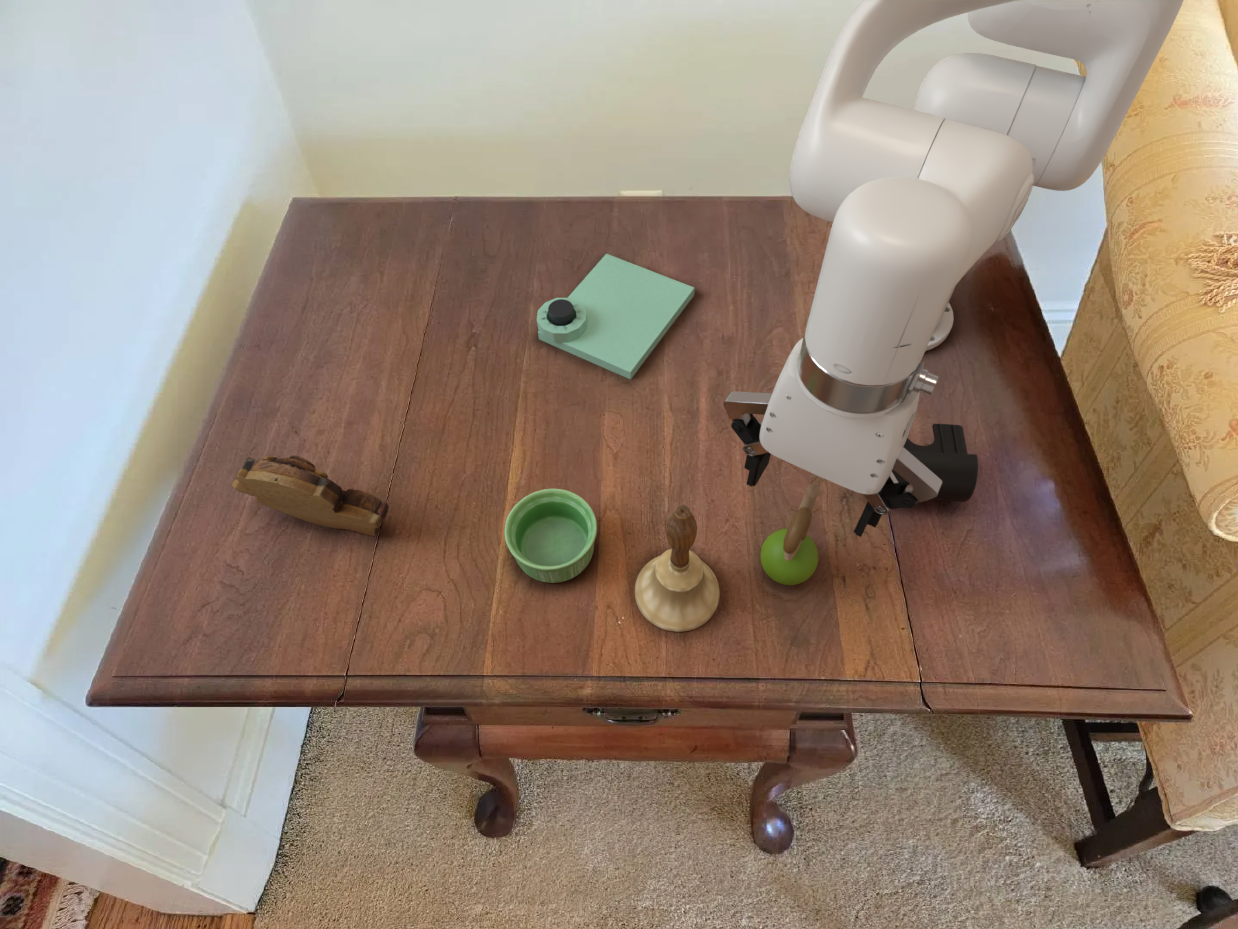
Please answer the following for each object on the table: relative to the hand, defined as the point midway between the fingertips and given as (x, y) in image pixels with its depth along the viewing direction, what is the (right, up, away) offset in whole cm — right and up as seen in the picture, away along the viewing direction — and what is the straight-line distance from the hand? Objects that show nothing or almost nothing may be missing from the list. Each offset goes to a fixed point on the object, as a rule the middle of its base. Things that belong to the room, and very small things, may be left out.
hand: (809, 497), depth 66 cm
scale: (-16, +21, +31) cm, 41 cm away
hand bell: (-11, -10, +10) cm, 17 cm away
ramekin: (-23, -6, +13) cm, 27 cm away
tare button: (-23, +21, +27) cm, 41 cm away
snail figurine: (0, -7, +11) cm, 13 cm away
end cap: (+14, +1, +16) cm, 22 cm away
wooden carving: (-47, -3, +16) cm, 50 cm away
